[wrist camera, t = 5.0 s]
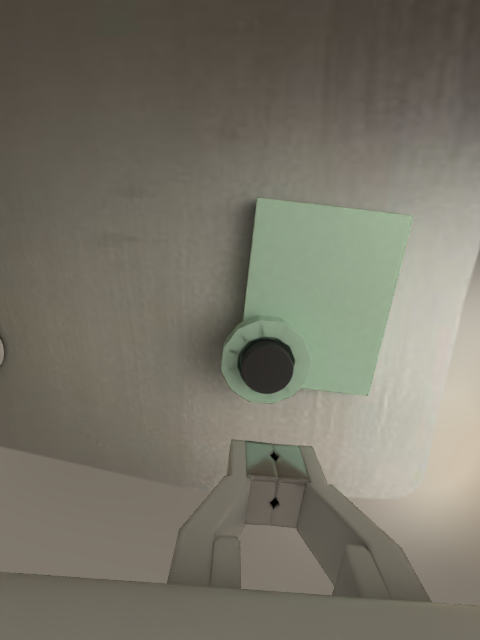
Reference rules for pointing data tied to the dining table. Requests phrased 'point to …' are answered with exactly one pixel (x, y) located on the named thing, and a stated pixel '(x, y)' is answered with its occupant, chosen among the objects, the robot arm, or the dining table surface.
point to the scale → (318, 294)
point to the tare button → (266, 366)
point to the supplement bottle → (1, 352)
